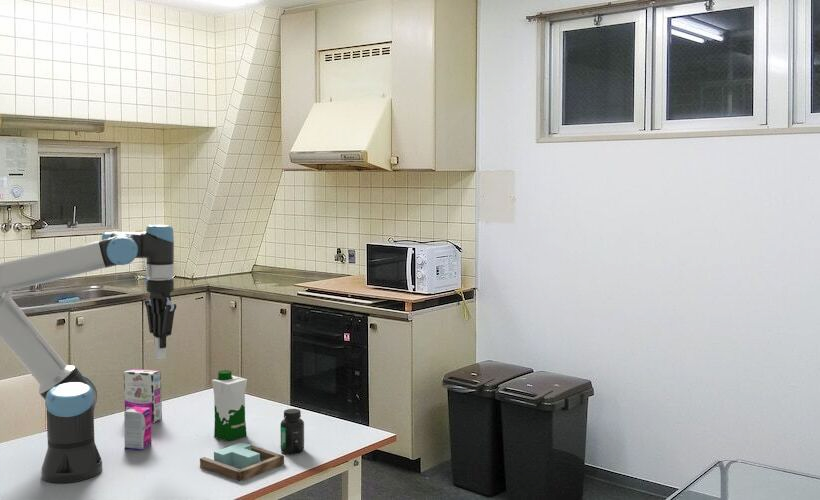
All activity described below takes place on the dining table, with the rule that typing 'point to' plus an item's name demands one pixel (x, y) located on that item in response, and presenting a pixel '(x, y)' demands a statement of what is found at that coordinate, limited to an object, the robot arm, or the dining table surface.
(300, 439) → the supplement bottle
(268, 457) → the wooden u-shaped frame
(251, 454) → the tee
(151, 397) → the candy bar box
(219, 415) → the milk carton
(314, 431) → the dining table surface
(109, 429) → the dining table surface
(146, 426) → the supplement box
